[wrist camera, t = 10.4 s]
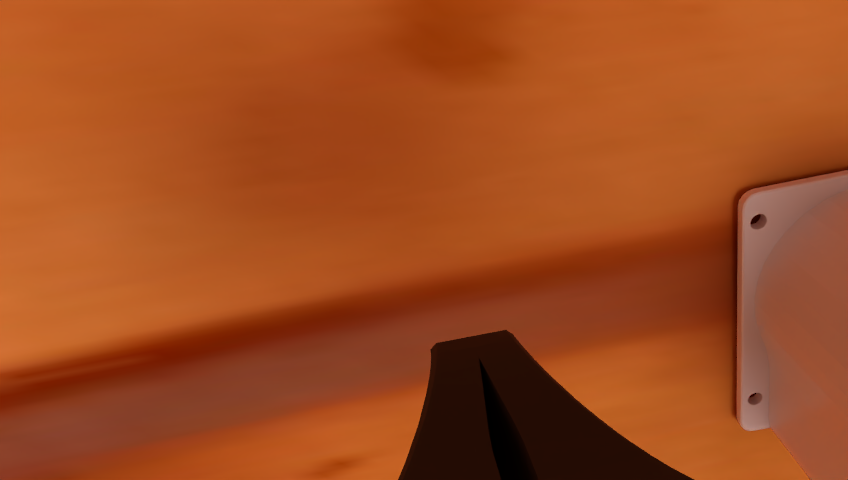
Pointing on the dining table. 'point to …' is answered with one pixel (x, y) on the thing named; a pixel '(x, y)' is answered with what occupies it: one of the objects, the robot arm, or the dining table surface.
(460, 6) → the dining table surface
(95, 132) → the dining table surface
